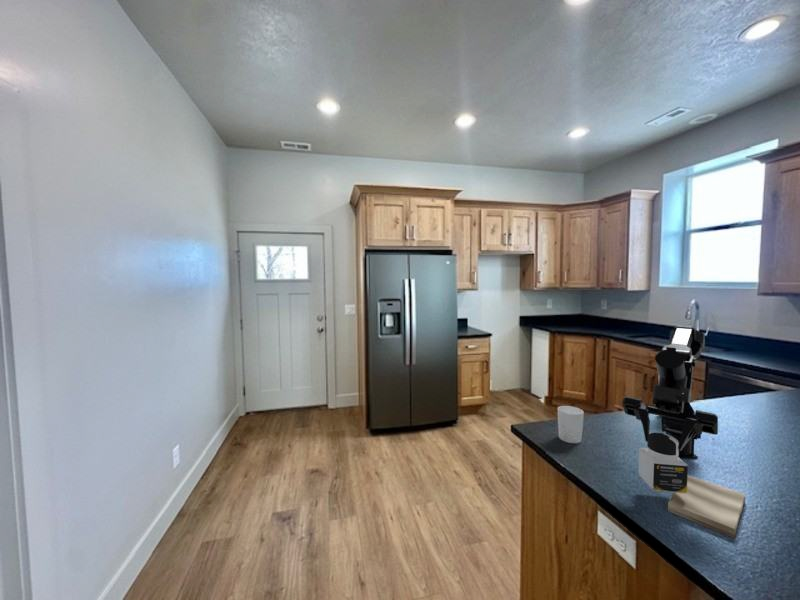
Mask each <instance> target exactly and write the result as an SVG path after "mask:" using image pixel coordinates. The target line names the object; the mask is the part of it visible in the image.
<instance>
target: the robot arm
mask: <svg viewBox="0 0 800 600" xmlns="http://www.w3.org/2000/svg"><path fill="white" fill-rule="evenodd" d="M705 339H706V338H705V333H703V332H701V331H700V330H697V329H696V327H694V326H693V325H692V326H691V325H690V326H689V325H675V326H674V328H673V329H672V330H670V332H669V343H670V344H667V345H664V346H662V348H661V351H658V353H656V355H654V361H655V365H656V371H657V375H658V374H659V375H658V382H659V383H658V384H657V385H654V386H653V393H652V404H653V405H654V406H652V405H648V404H646V403H643V400H642V398H637V397H633V396H628V395H627V396H625V397H623V399H622V403H621V404H622V407H623V410H624V413H625V414H626V415H628V416H632V417H635V418H636V419H637V420H638V421H640V422H641V425H642V429H643V433H644V434H643V435H644V440H645V442H646V443H647V440H648V435H649V434H650V428H651V427H650V425H651V424H650V422H651V420H650V416H649V415H654V416H658V417H660V416H662V417H661V432H663V433H664V432H665V434H667V435H670V436H672V437H674V438H676V439H677V440H678V442H679V448H678V449H679V456H678V457H679V458H686V459H698V458H699V456H698V455H696V453H695V440H696V441H697V440H701V437H702V434H703V433H705V434H710V435H714V436H715V435H718V433H719V417H718V415H716V413H713V412H708V411H703V410H697V409H695V410H694V408H693V406H692V405H691V398H692V387H693V374H694V368H695V367H696V366H697V365H698V358H699V357H701V355H702V349H705V345H706V340H705ZM659 376H660V377H659Z"/></svg>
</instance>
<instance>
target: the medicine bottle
mask: <svg viewBox="0 0 800 600" xmlns="http://www.w3.org/2000/svg"><path fill="white" fill-rule="evenodd" d="M646 443H647V446H646V447H645V448H644V447H643V448H642V447H640V448H639V449H638V450H639V451H638V475H639V476H640V477H641V478H642V479H643V481H644V482H645V483H646V484H647V485H648V486H649V487H650V489H652V491H654V492H662V493H663V492H664V493H673V494H674V493H684V494H686V493H687V475H689V474H688V472H689V469H688V468H689V466H688V463H687V462H685V461H684V460H682V459H681V457H678V456H679V449H678V448H679V442H678V440H677V439H676V438H674V437H672V436H670V435H667V434H666V433H664V432H663V433H662V432H651V433H650V432H649V435H648V440H647V442H646Z"/></svg>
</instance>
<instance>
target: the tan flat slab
mask: <svg viewBox="0 0 800 600" xmlns="http://www.w3.org/2000/svg"><path fill="white" fill-rule="evenodd" d="M667 502H668V503H667V511H668V512H669V513H672V514H675V515H676V516H679V517H681V518H684V519H686V520H689V521H691V522H694V523H696V524H699V525H701V526H703V527H706V528H708V529H711V530H713V531H716V532H718V533H720V534H722V535H724V536H725V535H726V536H727V535H728V536H727V537H730V538H732V539H735V538H736V531H737V527H738V524H739V521H740V518H741V514H742V511H743V507H744V506H745V504H746V494H745V493H743V492H740V491H737V490H734V489H730V488H728V487H725V486H722V485H718V484H716V483H713V482H710V481H706V480H704V479H701V478H698V477H695V476H692V475H689V474H688V475H687V493H686V494H684V493H674V492H673V494H672V496H671V498H670V499H669V501H667Z"/></svg>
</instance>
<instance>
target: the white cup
mask: <svg viewBox="0 0 800 600" xmlns="http://www.w3.org/2000/svg"><path fill="white" fill-rule="evenodd" d="M584 416H585V415H584V410H583V409H581V408H579V407H576V406H571V405H561V406H558V407H557V428H558V438H559V439H560V440H561V441H563V442H564V443H565V442H566V443H568V444H579V443H581V442H582V435H583V426H584Z"/></svg>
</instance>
